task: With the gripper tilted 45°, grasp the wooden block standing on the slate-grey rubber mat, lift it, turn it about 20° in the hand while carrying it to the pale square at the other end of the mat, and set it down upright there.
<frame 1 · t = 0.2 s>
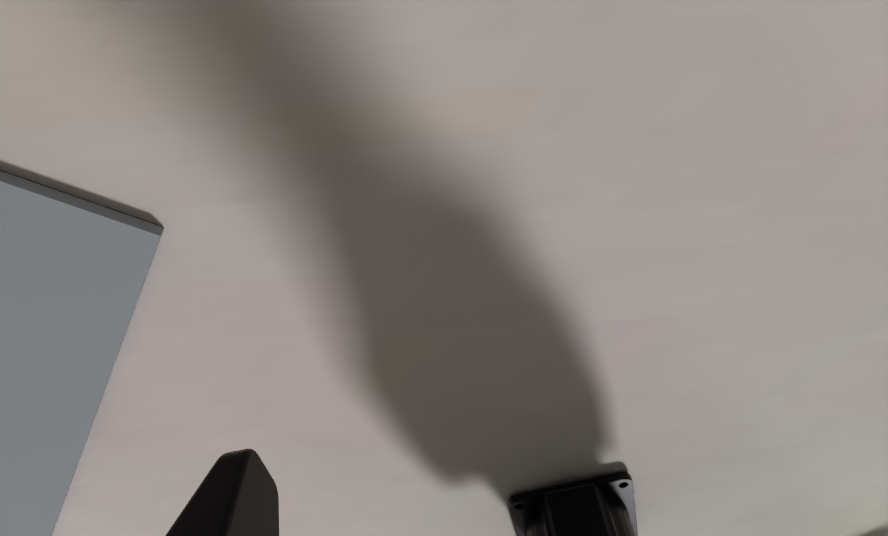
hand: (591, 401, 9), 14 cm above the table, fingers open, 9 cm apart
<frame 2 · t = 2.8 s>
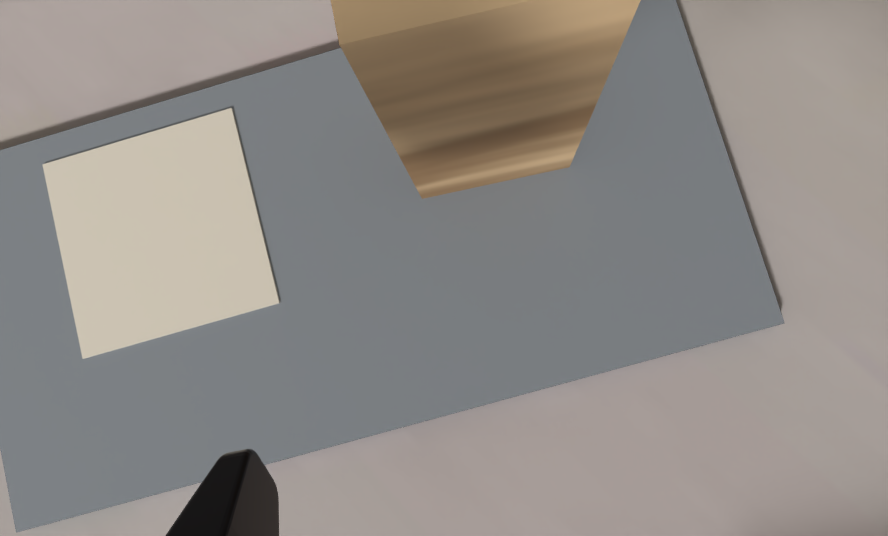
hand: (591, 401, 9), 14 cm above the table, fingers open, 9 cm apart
wooden block: (483, 126, 23), resting on rubber mat
rubber mat: (343, 242, 23), on the table
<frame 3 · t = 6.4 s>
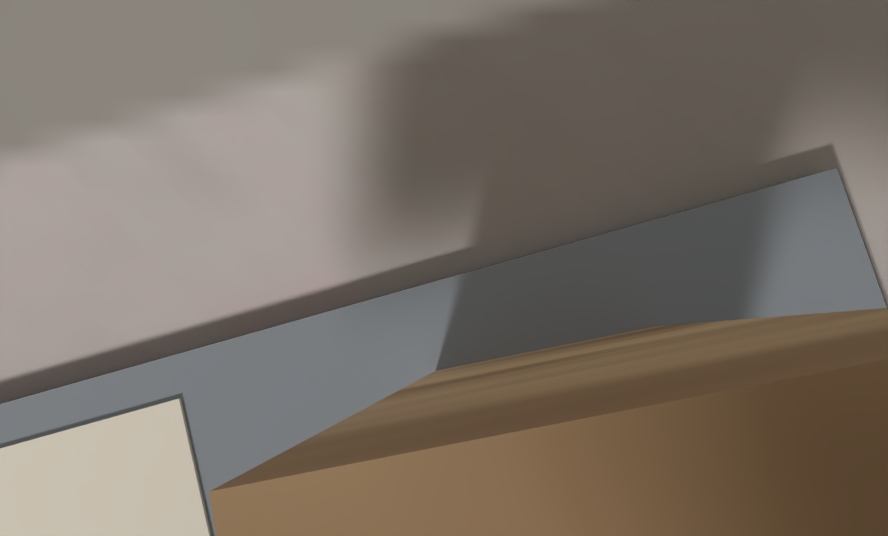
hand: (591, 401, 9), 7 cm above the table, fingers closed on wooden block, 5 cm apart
wooden block: (566, 439, 15), resting on rubber mat, touching gripper
when the fingers open (7 cm above the table, at t = 10.8 s): wooden block stays where it is, resting on rubber mat.
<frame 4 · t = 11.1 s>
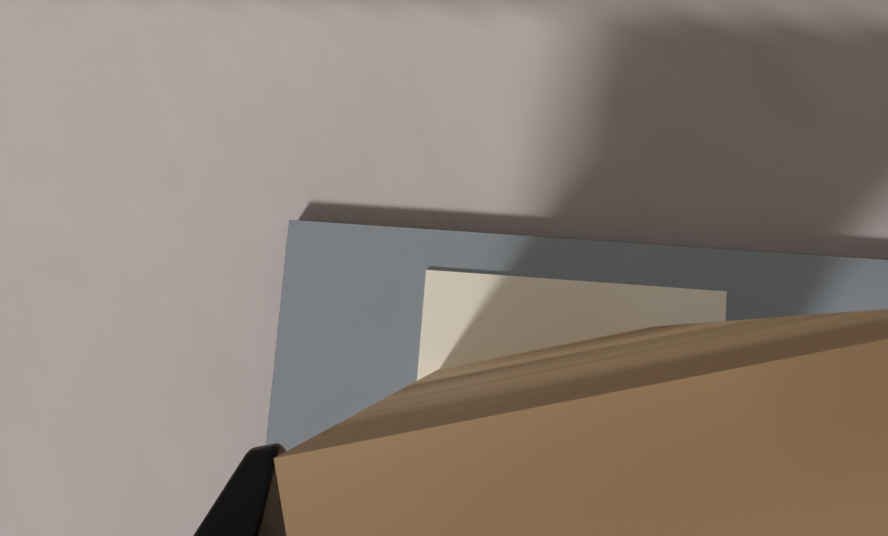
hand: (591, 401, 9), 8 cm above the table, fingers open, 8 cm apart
wooden block: (562, 433, 16), point 1 cm above the table, touching rubber mat
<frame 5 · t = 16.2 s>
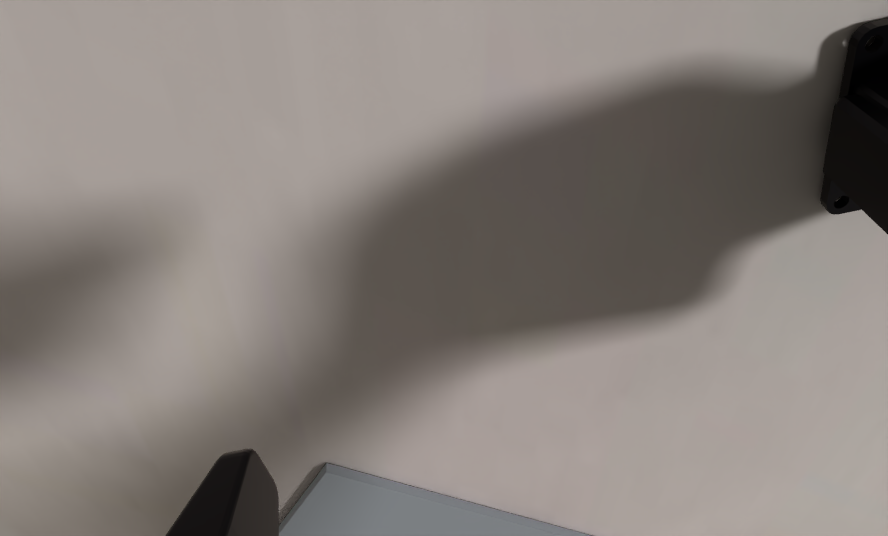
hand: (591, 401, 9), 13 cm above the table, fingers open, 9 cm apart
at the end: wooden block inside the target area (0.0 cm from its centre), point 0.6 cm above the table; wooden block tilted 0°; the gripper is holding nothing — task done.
